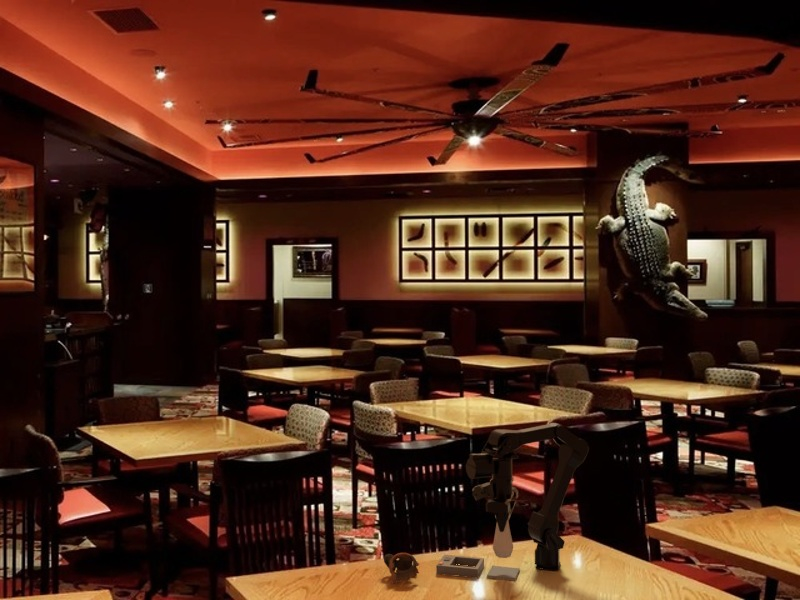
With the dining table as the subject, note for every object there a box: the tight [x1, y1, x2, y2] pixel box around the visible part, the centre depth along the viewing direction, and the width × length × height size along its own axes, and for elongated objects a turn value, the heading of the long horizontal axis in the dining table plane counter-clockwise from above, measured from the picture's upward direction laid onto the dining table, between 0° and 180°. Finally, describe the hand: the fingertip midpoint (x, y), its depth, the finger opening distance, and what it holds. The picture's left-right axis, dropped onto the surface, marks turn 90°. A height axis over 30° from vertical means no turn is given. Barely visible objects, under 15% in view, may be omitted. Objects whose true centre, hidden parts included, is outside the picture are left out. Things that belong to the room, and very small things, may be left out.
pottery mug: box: [383, 552, 420, 585], centre depth 223 cm, size 12×10×8 cm
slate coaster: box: [486, 565, 520, 582], centre depth 225 cm, size 8×8×1 cm
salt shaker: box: [492, 515, 514, 559], centre depth 225 cm, size 6×6×13 cm
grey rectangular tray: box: [435, 554, 485, 579], centre depth 229 cm, size 12×10×3 cm
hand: (502, 529), depth 225 cm, fingers closed on salt shaker, 4 cm apart
